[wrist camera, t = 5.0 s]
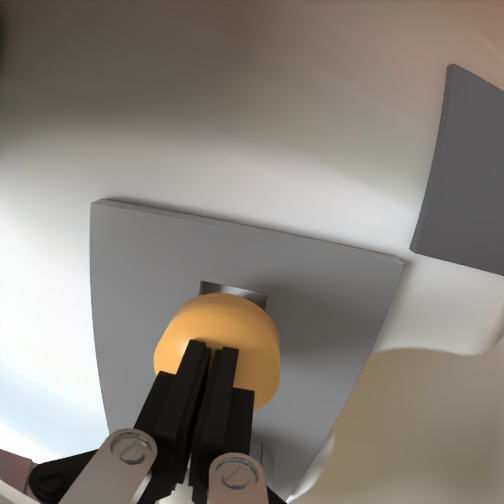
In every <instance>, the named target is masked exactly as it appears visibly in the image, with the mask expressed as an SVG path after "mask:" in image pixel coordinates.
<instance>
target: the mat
mask: <svg viewBox="0 0 504 504" xmlns="http://www.w3.org/2000/svg"><path fill="white" fill-rule="evenodd" d="M409 249H410V250H411V251H412V252H414V253H416V254H420V255H424V256H428V257H432V258H436V259H440V260H444V261H448V262H452V263H456V264H460V265H464V266H468V267H472V268H476V269H480V270H484V271H487V272H491V273H495V274H499V275H502V276H504V91H502V90H501V89H499V88H497V87H496V86H494V85H492V84H491V83H489V82H487V81H486V80H484V79H482V78H480V77H478V76H477V75H475V74H473V73H471V72H469V71H467V70H465V69H464V68H462V67H460V66H458V65H456V64H451V65H448V66H447V76H446V85H445V93H444V100H443V107H442V114H441V120H440V126H439V132H438V137H437V143H436V148H435V153H434V158H433V162H432V167H431V171H430V176H429V180H428V184H427V188H426V192H425V196H424V200H423V204H422V208H421V211H420V215H419V219H418V222H417V225H416V229H415V232H414V236H413V239H412V242H411V245H410V248H409Z"/></svg>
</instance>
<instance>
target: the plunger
mask: <svg viewBox="0 0 504 504" xmlns="http://www.w3.org/2000/svg"><path fill="white" fill-rule="evenodd" d="M190 339H192V340H196V341H201V342H206V347H209V348H211V355H210V362H209V369H208V376H207V382H208V378H209V374H210V370H211V367H212V363H213V359H214V355H215V352H216V349H218V350H223V346H225V347H230V348H235V349H239V354H238V360H237V366H236V372H235V378H234V384H233V387H237V388H242V389H248V390H253V391H255V397H254V409H253V412H254V411H256V410H258V409H260V408H261V407H263V406H264V405H265V404H267V403H268V402H269V401H270V400H271V399H272V397H273V396H274V394H275V393H276V391H277V388H278V385H279V381H280V340H279V334H278V331H277V328H276V326H275V324H274V322H273V321H272V319H271V318H270V316H269V315H268V314H267V313H266V312H265V311H264V310H263V309H262V308H260V307H259V306H258V305H256V304H255V303H253V302H251V301H249V300H247V299H245V298H242V297H240V296H236V295H232V294H226V293H211V294H205V295H200V296H198V297H195V298H193V299H191V300H189V301H187V302H186V303H184V304H183V305H182V306H181V307H180V308H179V309H178V310H177V311H176V313H175V314H174V316H173V318H172V320H171V321H170V323H169V325H168V327H167V329H166V331H165V332H164V334H163V336H162V338H161V340H160V342H159V343H158V345H157V347H156V350H155V353H154V369H155V373H156V376H157V375H158V373H159V371H164V372H168V373H172V374H176V372H177V370H178V367H179V365H180V362H181V360H182V357H183V355H184V352H185V350H186V347H187V345H188V342H189V340H190ZM206 385H207V383H206Z"/></svg>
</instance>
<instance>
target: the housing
mask: <svg viewBox="0 0 504 504" xmlns="http://www.w3.org/2000/svg"><path fill="white" fill-rule="evenodd" d="M404 265H405V264H404V263H403V262H402V261H401V260H400V259H399V258H398V257H396V256H391V255H387V254H383V253H378V252H374V251H369V250H364V249H360V248H355V247H351V246H346V245H341V244H337V243H332V242H327V241H322V240H318V239H313V238H308V237H303V236H298V235H294V234H289V233H284V232H279V231H274V230H269V229H264V228H259V227H254V226H249V225H243V224H238V223H233V222H228V221H223V220H217V219H212V218H207V217H202V216H196V215H191V214H185V213H180V212H174V211H169V210H163V209H158V208H152V207H146V206H141V205H135V204H129V203H123V202H118V201H112V200H106V199H100V200H97V201H95V202H92V203H91V214H90V285H91V304H92V319H93V330H94V341H95V350H96V358H97V366H98V373H99V380H100V387H101V393H102V399H103V404H104V410H105V415H106V420H107V425H108V429H109V434H112V433H113V432H115V431H117V430H119V429H124V428H133V427H134V425H135V423H136V421H137V418H138V416H139V414H140V412H141V409H142V407H143V405H144V403H145V401H146V398H147V396H148V394H149V392H150V390H151V388H152V385H153V383H154V381H155V379H156V377H157V376H156V373H155V369H154V353H155V350H156V347H157V345H158V343H159V342H160V340H161V338H162V336H163V334H164V332H165V331H166V329H167V327H168V325H169V323H170V321H171V320H172V318H173V316H174V314H175V313H176V311H177V310H178V309H179V308H180V307H181V306H182V305H183V304H184V303H186V302H187V301H189V300H191V299H193V298H195V297H198V296H200V295H202V293H203V285H204V281H206V282H211V283H216V284H221V285H226V286H231V287H236V288H241V289H246V290H251V291H256V292H261V293H266V294H268V296H267V300H266V304H265V309H264V311H265V312H266V313H267V314H268V315H269V316H270V318H271V319H272V321H273V322H274V324H275V326H276V328H277V331H278V334H279V340H280V381H279V385H278V388H277V391H276V393H275V394H274V396H273V397H272V399H271V400H270V401H269V402H268V403H267V404H265V405H264V406H263V407H261V408H260V409H258V410H256V411H254V412H253V420H252V432H251V443H250V454H249V456H250V457H252V458H253V459H255V460H256V461H258V463H259V464H260V465H261V466H262V468H263V471H264V474H265V481H266V485H267V486H268V487H269V488H270V489H271V490H272V491H273V492H275V493H276V494H277V495H278V496H279V497H280V498H281V499H282V500H284V501H285V502H286V500H287V499H288V497H289V496H290V494H291V493H292V491H293V490H294V489H295V487H296V486H297V484H298V483H299V481H300V480H301V478H302V477H303V475H304V474H305V472H306V470H307V469H308V467H309V466H310V464H311V463H312V461H313V459H314V458H315V456H316V454H317V453H318V451H319V450H320V448H321V446H322V444H323V443H324V441H325V439H326V438H327V436H328V434H329V432H330V431H331V429H332V427H333V425H334V424H335V422H336V420H337V418H338V416H339V415H340V413H341V411H342V409H343V407H344V405H345V403H346V401H347V399H348V397H349V396H350V394H351V392H352V390H353V388H354V385H355V384H356V381H357V379H358V377H359V375H360V373H361V371H362V369H363V367H364V365H365V363H366V360H367V358H368V356H369V354H370V352H371V350H372V347H373V345H374V343H375V341H376V338H377V336H378V334H379V331H380V329H381V326H382V324H383V322H384V319H385V317H386V314H387V312H388V309H389V307H390V304H391V301H392V299H393V296H394V293H395V291H396V288H397V285H398V283H399V280H400V277H401V274H402V271H403V268H404ZM190 460H191V455H190V459H189V463H188V467H187V468H189V469H190Z"/></svg>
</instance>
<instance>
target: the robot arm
mask: <svg viewBox="0 0 504 504" xmlns="http://www.w3.org/2000/svg"><path fill="white" fill-rule="evenodd" d="M238 354H239V349H235V348H230V347H225V346H223V350H218V349H216V352H215V355H214V359H213V363H212V367H211V370H210V374H209V378H208V382H207V376H208V369H209V362H210V355H211V348H209V347H206V342H201V341H196V340H192V339H190V340H189V342H188V345H187V347H186V350H185V352H184V355H183V357H182V360H181V362H180V365H179V367H178V370H177V372H176V374H172V373H168V372H164V371H159V373H158V375H157V377H156V379H155V381H154V383H153V385H152V388H151V390H150V392H149V394H148V396H147V398H146V401H145V403H144V405H143V407H142V409H141V412H140V414H139V416H138V418H137V421H136V423H135V425H134V427H133V428H124V429H119V430H117V431H115V432H113V433H112V434H110V435H109V436H108V437H107V439H106V440H105V441H104V443H103V444H102V445H101V447H100V448H99V449H96V450H93V451H89V452H86V453H82V454H78V455H74V456H70V457H66V458H62V459H58V460H53V461H49V462H44V463H42V464H37V463H33V461H32V460H31V459H28V458H25V457H22V456H19V455H16V454H13V453H10V452H7V451H4V450H2V449H0V504H159V502H160V499H163V498H165V497H168V496H170V495H171V492H172V490H173V491H175V488H176V485H177V483H178V484H182V485H183V483H184V479H185V475H186V471H187V467H188V463H189V459H190V455H191V460H190V470H189V481H188V486H191V487H193V492H192V501H193V502H194V504H287V503H286V502H285V501H284V500H282V499H281V498H280V497H279V496H278V495H277V494H276V493H275V492H273V491H272V490H271V489H270V488H269V487H268V486H267V485H266V481H265V474H264V471H263V468H262V466H261V465H260V464H259V463H258V461H256V460H255V459H253V458H252V457H250V456H249V454H250V443H251V432H252V420H253V409H254V397H255V391H253V390H248V389H242V388H237V387H233V384H234V378H235V372H236V366H237V360H238ZM206 383H207V385H206Z"/></svg>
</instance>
